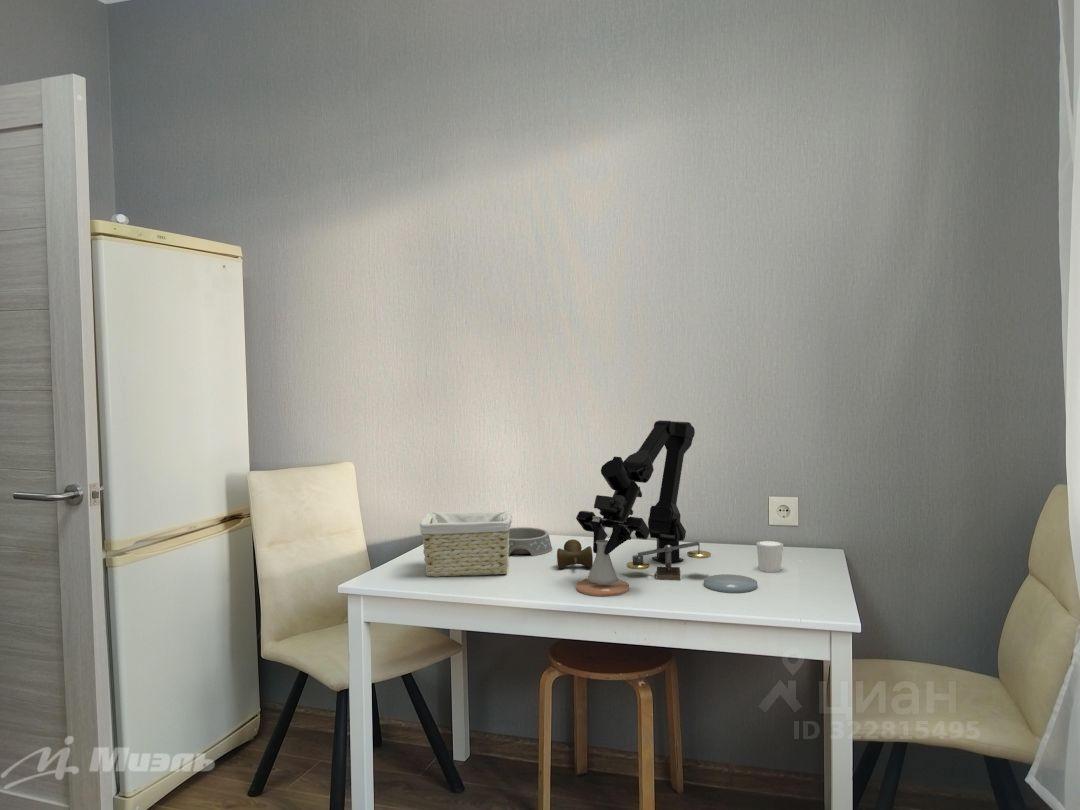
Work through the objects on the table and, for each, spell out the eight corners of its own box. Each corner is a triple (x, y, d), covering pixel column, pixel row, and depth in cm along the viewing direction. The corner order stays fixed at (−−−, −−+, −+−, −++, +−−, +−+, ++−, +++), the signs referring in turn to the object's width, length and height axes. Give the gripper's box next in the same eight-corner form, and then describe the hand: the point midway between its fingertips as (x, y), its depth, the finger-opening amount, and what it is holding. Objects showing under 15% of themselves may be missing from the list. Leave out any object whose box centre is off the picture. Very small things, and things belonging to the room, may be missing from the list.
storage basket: (419, 578, 216) (418, 522, 215) (427, 562, 232) (426, 510, 231) (511, 577, 216) (510, 521, 215) (512, 561, 232) (512, 509, 231)
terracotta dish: (567, 585, 206) (567, 581, 206) (611, 578, 212) (611, 575, 212) (593, 599, 195) (593, 595, 195) (639, 591, 201) (639, 587, 200)
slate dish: (693, 582, 208) (693, 578, 208) (733, 575, 213) (733, 571, 213) (726, 595, 196) (726, 591, 196) (768, 588, 202) (768, 584, 202)
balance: (625, 578, 212) (625, 543, 212) (627, 570, 220) (626, 536, 220) (711, 580, 209) (711, 545, 208) (710, 572, 217) (709, 538, 216)
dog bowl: (552, 557, 237) (552, 538, 236) (488, 557, 237) (488, 539, 237) (552, 543, 254) (552, 526, 254) (492, 544, 254) (492, 526, 254)
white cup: (784, 573, 215) (784, 546, 215) (757, 572, 217) (757, 545, 216) (782, 566, 222) (782, 540, 222) (755, 565, 223) (755, 539, 223)
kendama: (589, 557, 238) (594, 573, 218) (556, 558, 238) (558, 575, 218) (588, 536, 237) (593, 551, 217) (555, 538, 237) (557, 552, 217)
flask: (623, 581, 203) (623, 541, 202) (602, 586, 198) (602, 545, 198) (602, 575, 209) (602, 536, 208) (581, 580, 204) (581, 540, 203)
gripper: (579, 479, 211) (554, 530, 203) (643, 485, 199) (619, 539, 191) (596, 504, 217) (573, 554, 209) (659, 512, 206) (637, 565, 198)
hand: (599, 553), depth 202 cm, fingers closed on flask, 3 cm apart
